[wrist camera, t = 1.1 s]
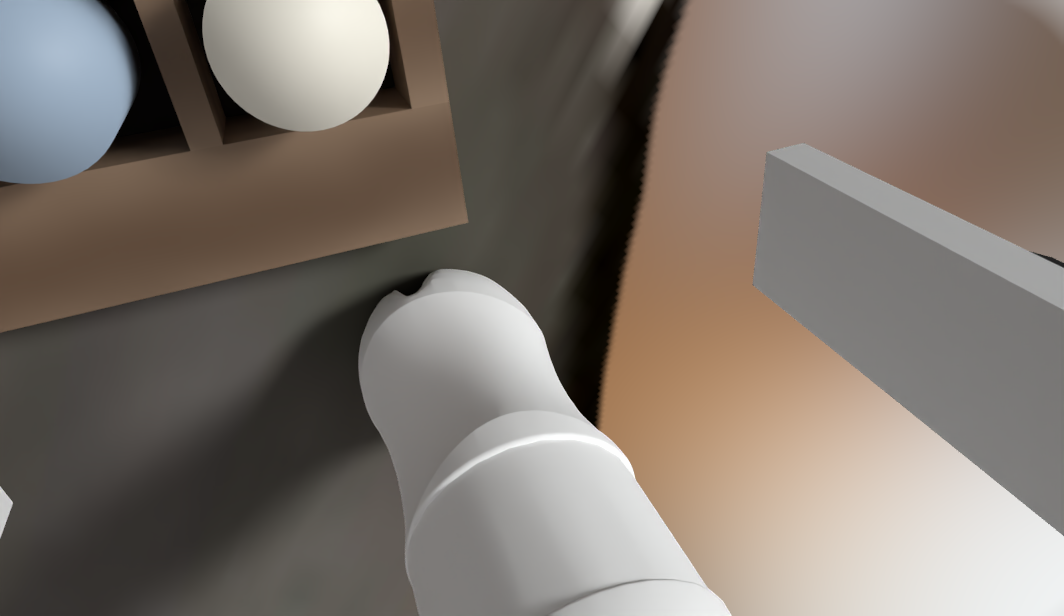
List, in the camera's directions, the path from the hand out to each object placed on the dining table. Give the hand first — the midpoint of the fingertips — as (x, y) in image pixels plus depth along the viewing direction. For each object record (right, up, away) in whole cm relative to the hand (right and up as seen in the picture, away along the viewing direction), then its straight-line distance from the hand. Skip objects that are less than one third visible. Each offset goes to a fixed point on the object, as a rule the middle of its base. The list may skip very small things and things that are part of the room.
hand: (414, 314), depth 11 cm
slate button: (-11, +7, +8) cm, 15 cm away
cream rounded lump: (-5, +9, +9) cm, 14 cm away
